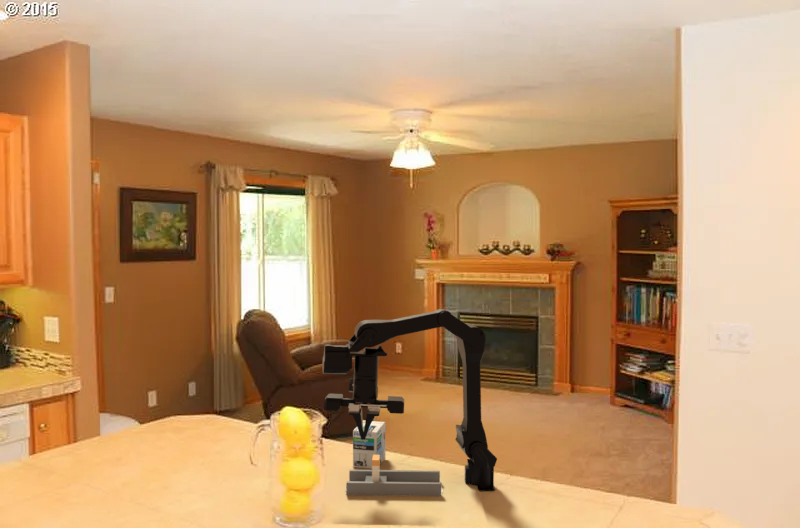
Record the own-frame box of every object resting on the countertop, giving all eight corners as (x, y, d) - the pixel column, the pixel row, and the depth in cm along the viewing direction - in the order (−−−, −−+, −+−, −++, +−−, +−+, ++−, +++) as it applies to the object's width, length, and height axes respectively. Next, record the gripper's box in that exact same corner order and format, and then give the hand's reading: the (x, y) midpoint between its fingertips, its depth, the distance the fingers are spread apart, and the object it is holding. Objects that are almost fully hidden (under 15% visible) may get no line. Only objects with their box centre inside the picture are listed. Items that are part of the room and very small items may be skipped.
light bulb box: (377, 473, 174) (377, 432, 174) (351, 471, 176) (352, 430, 175) (386, 460, 185) (386, 421, 184) (362, 458, 186) (362, 419, 186)
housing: (442, 481, 169) (442, 465, 169) (446, 507, 153) (446, 490, 153) (346, 480, 169) (347, 464, 169) (340, 505, 153) (340, 488, 153)
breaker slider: (386, 483, 164) (386, 453, 164) (385, 492, 158) (386, 461, 158) (366, 483, 164) (366, 453, 164) (364, 492, 158) (364, 461, 158)
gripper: (405, 369, 168) (402, 431, 169) (330, 365, 168) (327, 428, 169) (405, 378, 157) (402, 445, 157) (324, 375, 157) (322, 441, 158)
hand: (363, 439), depth 161 cm, fingers closed
